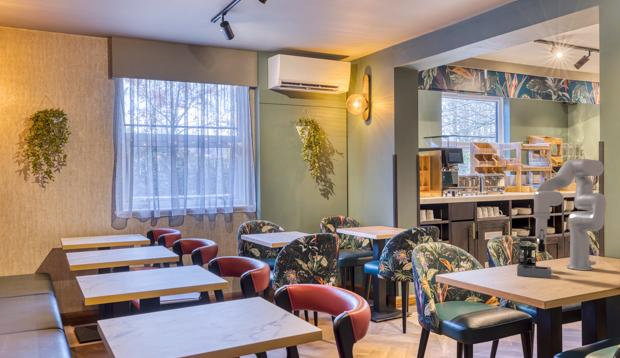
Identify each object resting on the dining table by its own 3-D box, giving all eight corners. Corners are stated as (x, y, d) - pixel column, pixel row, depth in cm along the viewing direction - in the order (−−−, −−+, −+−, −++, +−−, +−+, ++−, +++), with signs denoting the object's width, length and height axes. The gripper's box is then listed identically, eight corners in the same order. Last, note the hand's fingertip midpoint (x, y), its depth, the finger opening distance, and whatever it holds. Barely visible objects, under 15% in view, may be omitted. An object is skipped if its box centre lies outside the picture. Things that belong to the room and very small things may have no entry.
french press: (533, 271, 280) (534, 228, 280) (515, 269, 286) (516, 227, 285) (539, 267, 289) (539, 226, 289) (521, 266, 295) (521, 225, 295)
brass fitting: (541, 252, 269) (542, 236, 269) (548, 253, 265) (548, 237, 265) (534, 252, 268) (535, 236, 268) (540, 253, 264) (541, 237, 264)
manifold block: (550, 274, 270) (550, 267, 270) (551, 278, 261) (551, 270, 261) (517, 272, 276) (517, 264, 276) (517, 275, 267) (517, 267, 267)
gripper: (533, 214, 276) (533, 248, 276) (534, 216, 260) (533, 252, 260) (549, 214, 273) (548, 249, 273) (550, 217, 257) (549, 253, 257)
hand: (541, 250), depth 267 cm, fingers closed on brass fitting, 4 cm apart
